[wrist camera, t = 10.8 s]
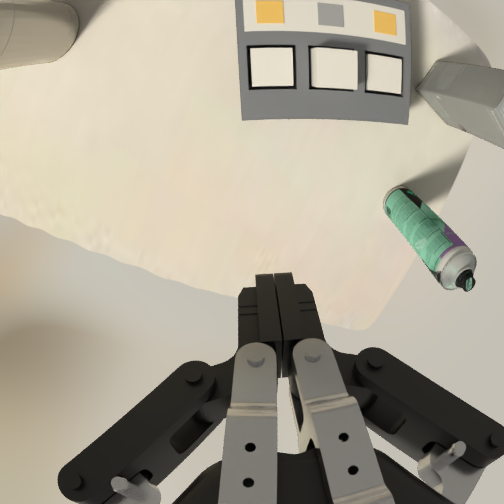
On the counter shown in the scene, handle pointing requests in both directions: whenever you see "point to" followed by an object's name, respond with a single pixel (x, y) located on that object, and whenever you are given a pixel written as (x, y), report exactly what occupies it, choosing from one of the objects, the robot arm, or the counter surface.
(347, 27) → the button panel
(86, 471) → the robot arm
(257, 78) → the button
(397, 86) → the button
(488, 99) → the skincare box
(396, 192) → the spray can
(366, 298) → the counter surface
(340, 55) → the middle button
